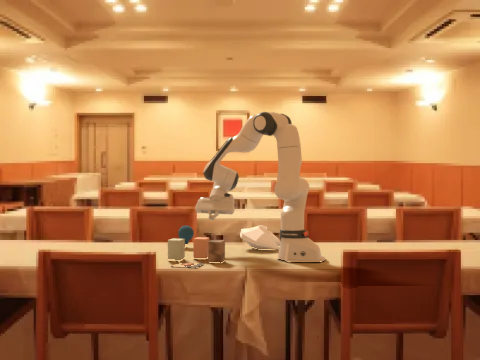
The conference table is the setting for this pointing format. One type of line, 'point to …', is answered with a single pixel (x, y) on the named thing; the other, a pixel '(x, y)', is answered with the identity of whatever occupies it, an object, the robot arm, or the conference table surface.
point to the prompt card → (191, 264)
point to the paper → (260, 237)
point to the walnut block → (216, 251)
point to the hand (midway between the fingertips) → (211, 219)
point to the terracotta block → (200, 247)
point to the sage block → (176, 249)
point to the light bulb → (186, 233)
